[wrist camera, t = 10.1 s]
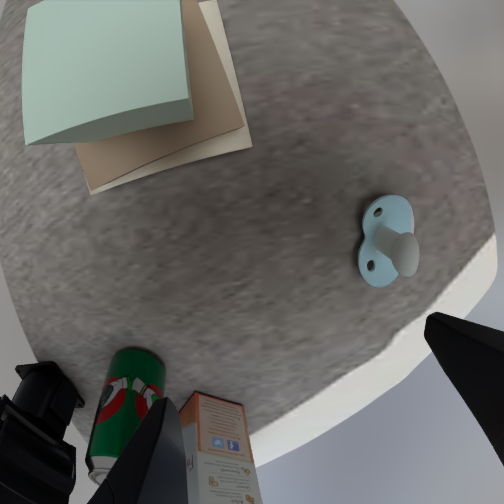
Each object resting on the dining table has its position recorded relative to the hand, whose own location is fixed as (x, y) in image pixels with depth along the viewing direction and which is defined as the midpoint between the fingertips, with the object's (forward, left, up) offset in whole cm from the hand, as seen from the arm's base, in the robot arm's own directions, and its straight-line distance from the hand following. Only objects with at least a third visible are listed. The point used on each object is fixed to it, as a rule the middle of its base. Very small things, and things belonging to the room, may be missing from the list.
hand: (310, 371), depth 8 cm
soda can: (-12, -9, -13) cm, 20 cm away
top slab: (-4, +11, -11) cm, 16 cm away
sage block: (-4, +11, -8) cm, 14 cm away
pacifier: (+11, -3, -13) cm, 18 cm away
